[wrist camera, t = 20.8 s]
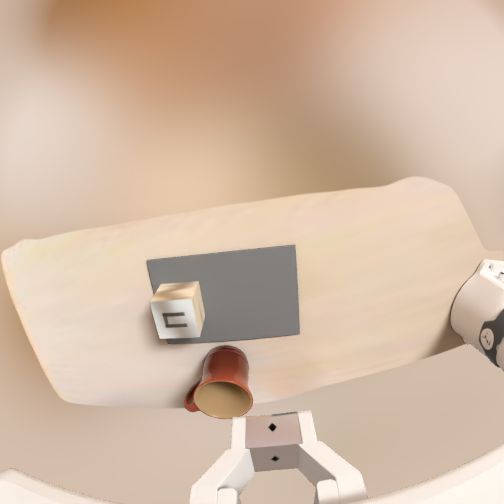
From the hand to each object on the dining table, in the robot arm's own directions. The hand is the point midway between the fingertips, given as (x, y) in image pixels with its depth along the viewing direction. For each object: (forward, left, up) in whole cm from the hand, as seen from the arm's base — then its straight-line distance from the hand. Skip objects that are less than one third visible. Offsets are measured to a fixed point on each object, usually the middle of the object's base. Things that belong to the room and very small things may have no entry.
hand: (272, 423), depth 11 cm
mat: (+6, +11, -34) cm, 36 cm away
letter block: (+12, +11, -28) cm, 32 cm away
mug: (+9, +24, -34) cm, 43 cm away
